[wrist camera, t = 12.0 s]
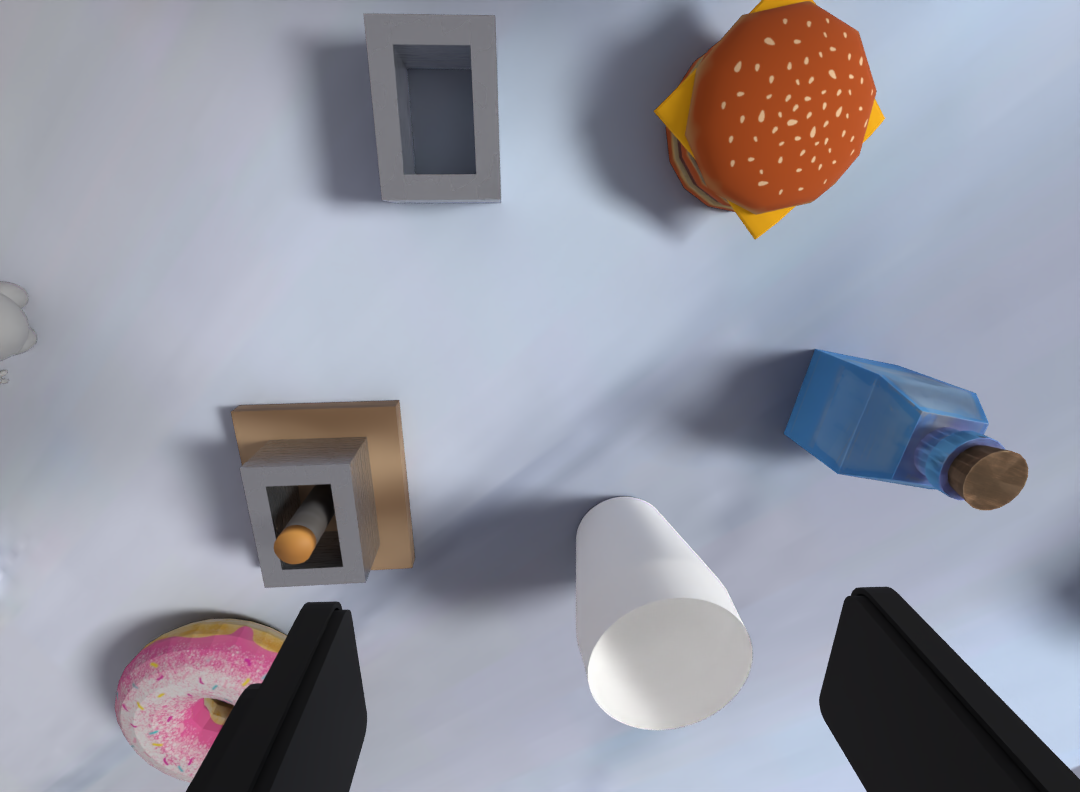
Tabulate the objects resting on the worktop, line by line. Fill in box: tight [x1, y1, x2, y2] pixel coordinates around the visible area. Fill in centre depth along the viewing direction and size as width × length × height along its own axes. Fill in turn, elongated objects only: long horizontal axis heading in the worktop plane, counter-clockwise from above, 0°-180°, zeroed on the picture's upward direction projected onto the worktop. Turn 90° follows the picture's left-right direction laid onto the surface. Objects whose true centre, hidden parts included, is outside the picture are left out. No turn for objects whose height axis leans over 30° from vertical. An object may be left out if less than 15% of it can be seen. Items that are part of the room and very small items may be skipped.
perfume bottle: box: [784, 349, 1028, 510], centre depth 30 cm, size 6×6×12 cm
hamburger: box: [654, 0, 885, 239], centre depth 27 cm, size 9×10×7 cm
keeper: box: [231, 400, 415, 570], centre depth 32 cm, size 12×10×7 cm
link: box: [240, 437, 380, 588], centre depth 32 cm, size 8×6×4 cm
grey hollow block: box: [364, 14, 501, 203], centre depth 27 cm, size 8×6×4 cm
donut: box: [115, 619, 287, 782], centre depth 38 cm, size 14×13×5 cm
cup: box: [576, 497, 753, 730], centre depth 33 cm, size 9×9×12 cm
